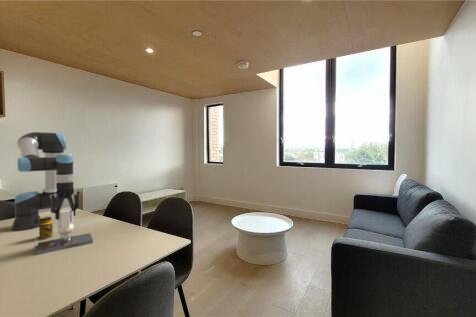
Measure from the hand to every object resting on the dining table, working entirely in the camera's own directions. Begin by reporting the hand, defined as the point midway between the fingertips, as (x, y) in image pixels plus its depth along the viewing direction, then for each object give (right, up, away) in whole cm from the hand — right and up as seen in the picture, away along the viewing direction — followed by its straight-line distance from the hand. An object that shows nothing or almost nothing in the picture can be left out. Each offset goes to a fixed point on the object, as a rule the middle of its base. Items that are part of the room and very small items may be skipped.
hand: (65, 223), depth 126 cm
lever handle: (0, -4, 0) cm, 4 cm away
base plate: (0, -12, 0) cm, 12 cm away
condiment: (-20, -11, +9) cm, 24 cm away
